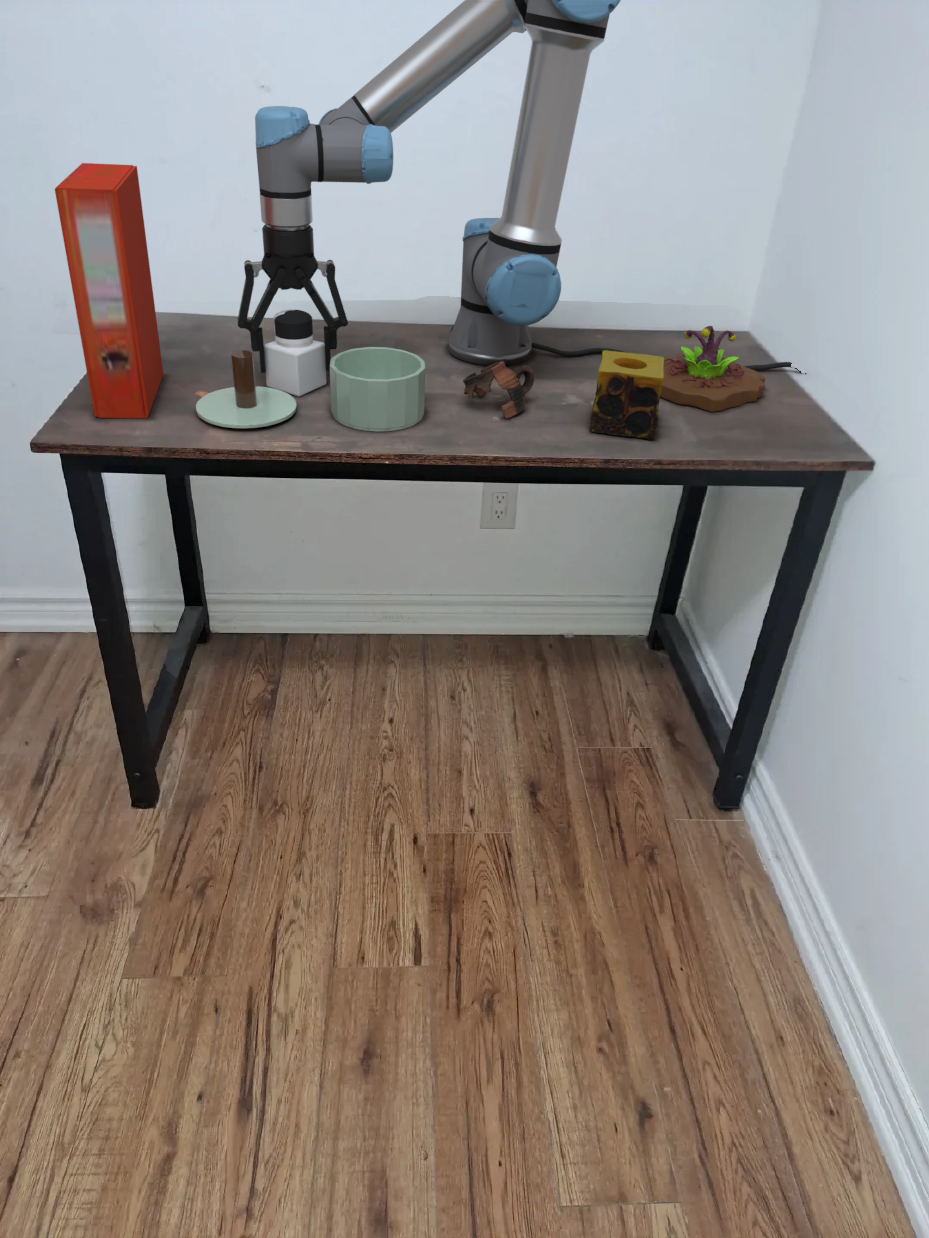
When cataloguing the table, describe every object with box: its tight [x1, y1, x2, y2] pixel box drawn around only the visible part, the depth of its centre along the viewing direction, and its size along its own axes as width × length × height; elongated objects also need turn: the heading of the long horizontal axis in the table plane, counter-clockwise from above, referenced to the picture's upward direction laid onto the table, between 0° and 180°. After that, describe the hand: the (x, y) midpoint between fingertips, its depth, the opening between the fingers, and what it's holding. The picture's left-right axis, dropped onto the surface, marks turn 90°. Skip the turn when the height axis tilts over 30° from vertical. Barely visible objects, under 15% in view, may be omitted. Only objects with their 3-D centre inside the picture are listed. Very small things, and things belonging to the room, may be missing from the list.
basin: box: [329, 346, 426, 433], centre depth 145 cm, size 14×14×8 cm
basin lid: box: [195, 349, 298, 429], centre depth 143 cm, size 15×15×9 cm
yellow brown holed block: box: [589, 350, 665, 441], centre depth 146 cm, size 10×10×10 cm
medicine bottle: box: [263, 308, 327, 397], centre depth 151 cm, size 7×7×12 cm
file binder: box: [54, 162, 164, 419], centre depth 139 cm, size 8×17×32 cm, turn 7°
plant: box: [660, 325, 766, 413], centre depth 160 cm, size 20×20×11 cm
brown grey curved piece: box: [462, 361, 535, 420], centre depth 151 cm, size 12×10×8 cm
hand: (295, 369), depth 153 cm, fingers closed on medicine bottle, 10 cm apart
